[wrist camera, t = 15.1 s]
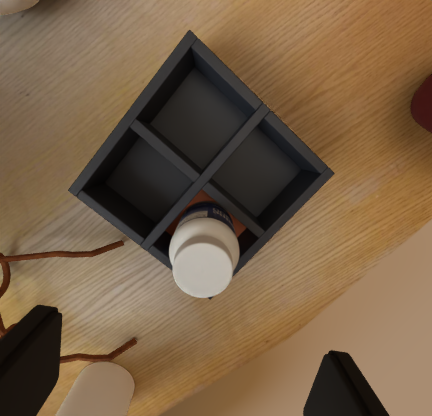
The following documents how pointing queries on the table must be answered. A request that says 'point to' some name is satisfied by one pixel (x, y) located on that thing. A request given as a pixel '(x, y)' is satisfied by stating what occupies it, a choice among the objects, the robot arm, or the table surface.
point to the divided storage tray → (199, 158)
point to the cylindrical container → (99, 392)
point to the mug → (423, 105)
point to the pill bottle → (204, 250)
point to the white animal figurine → (15, 6)
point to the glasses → (5, 259)
